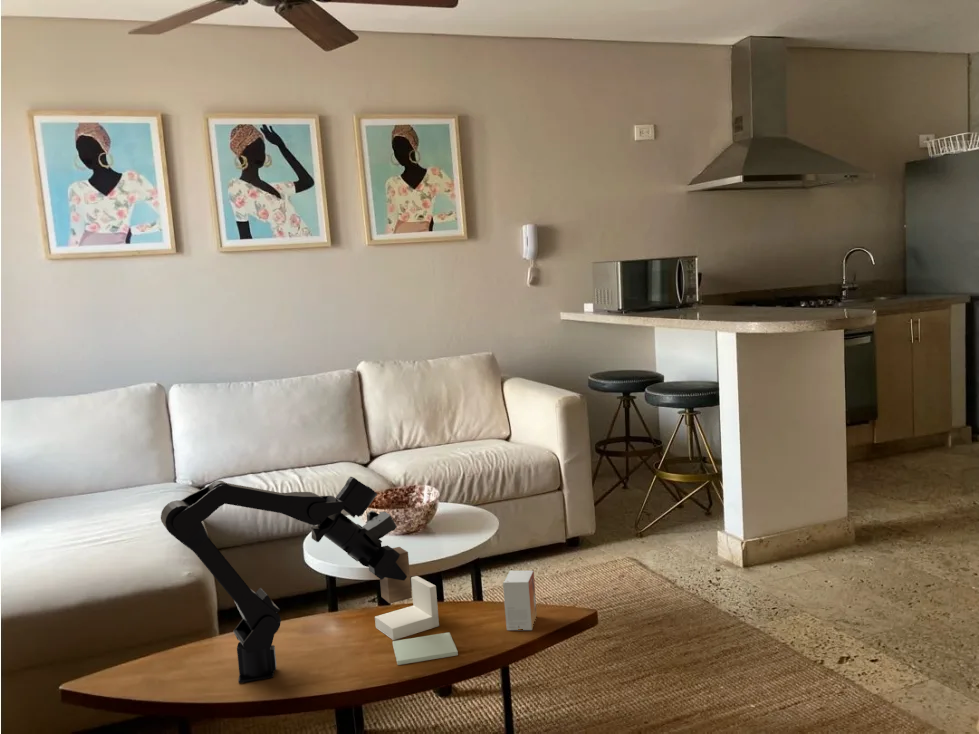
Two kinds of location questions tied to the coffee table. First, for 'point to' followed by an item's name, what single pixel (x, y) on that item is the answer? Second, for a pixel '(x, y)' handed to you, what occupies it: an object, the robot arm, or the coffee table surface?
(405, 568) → the walnut block
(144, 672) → the coffee table surface
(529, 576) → the small box
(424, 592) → the ledge
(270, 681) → the coffee table surface
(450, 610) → the coffee table surface
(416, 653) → the pad
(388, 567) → the robot arm
